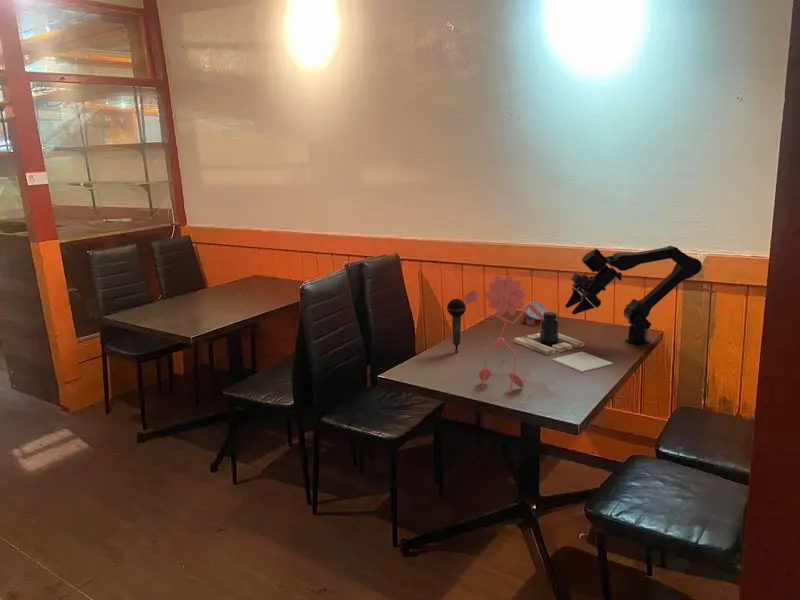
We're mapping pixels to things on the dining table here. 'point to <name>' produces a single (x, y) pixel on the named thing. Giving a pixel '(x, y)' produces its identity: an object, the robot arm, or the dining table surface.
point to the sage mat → (582, 361)
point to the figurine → (504, 299)
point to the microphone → (456, 319)
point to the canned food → (533, 314)
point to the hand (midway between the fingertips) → (569, 310)
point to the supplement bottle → (549, 329)
